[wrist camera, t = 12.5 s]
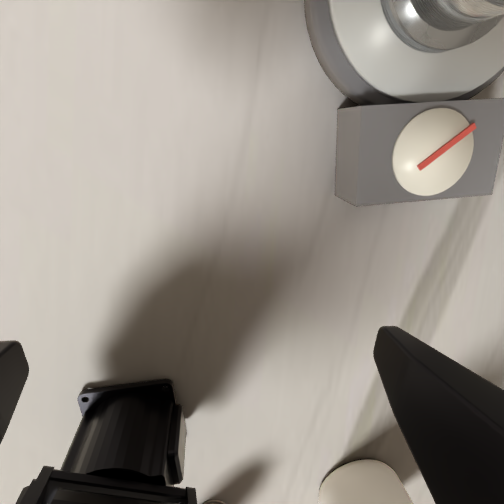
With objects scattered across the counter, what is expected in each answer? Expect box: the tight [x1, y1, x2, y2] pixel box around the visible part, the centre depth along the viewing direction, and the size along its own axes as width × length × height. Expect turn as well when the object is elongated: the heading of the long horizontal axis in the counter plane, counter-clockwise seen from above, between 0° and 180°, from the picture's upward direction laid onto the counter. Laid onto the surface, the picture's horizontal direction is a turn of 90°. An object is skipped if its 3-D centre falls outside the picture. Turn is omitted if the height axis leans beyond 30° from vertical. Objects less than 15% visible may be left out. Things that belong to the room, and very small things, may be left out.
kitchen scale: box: [304, 0, 504, 206], centre depth 17 cm, size 12×16×4 cm
